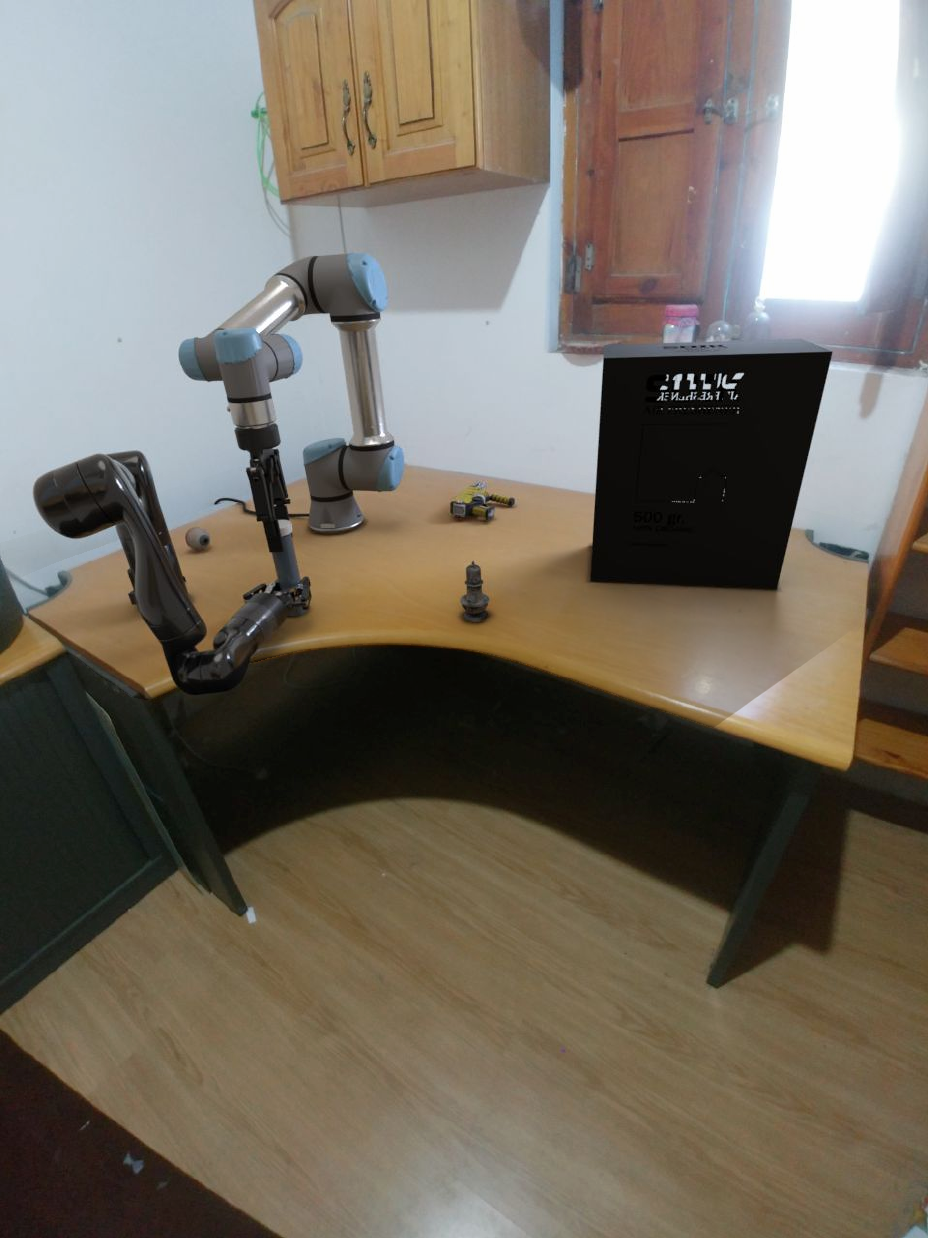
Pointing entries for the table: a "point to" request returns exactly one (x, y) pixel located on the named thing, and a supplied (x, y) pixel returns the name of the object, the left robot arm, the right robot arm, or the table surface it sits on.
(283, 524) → the lid
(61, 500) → the left robot arm
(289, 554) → the bottle
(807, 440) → the cardboard box
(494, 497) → the toy gun
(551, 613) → the table surface
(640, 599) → the table surface
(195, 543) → the eyeball
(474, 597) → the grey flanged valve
